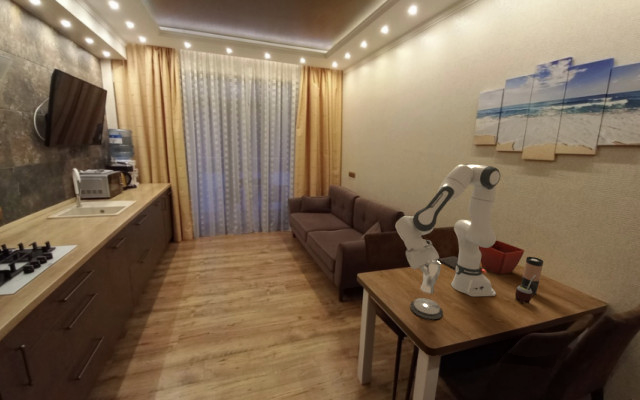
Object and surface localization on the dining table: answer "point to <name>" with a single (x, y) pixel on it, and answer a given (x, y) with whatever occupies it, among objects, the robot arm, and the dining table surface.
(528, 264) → the travel mug
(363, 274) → the dining table surface
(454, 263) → the hardcover book
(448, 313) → the dining table surface
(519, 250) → the plant pot
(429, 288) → the beer glass
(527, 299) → the mate gourd
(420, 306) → the disc
